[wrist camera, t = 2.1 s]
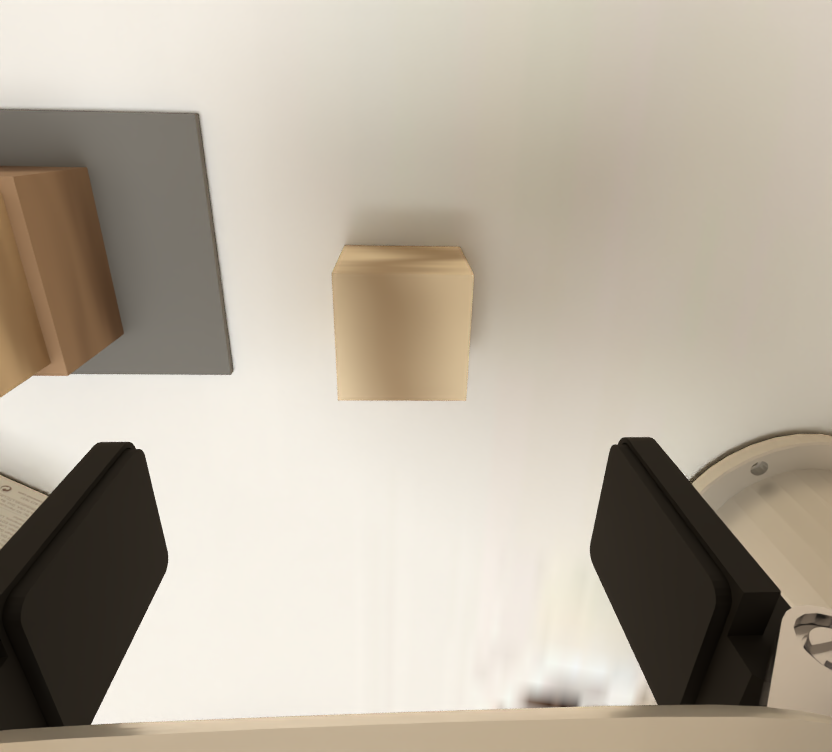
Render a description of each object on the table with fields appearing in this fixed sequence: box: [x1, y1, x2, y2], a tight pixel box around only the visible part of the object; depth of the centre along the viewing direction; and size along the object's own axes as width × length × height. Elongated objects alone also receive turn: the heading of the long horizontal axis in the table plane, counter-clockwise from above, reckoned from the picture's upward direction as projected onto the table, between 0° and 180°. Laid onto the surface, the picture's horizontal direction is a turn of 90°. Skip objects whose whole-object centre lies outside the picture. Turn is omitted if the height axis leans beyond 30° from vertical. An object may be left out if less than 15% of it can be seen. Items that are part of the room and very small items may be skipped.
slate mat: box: [0, 109, 233, 375], centre depth 23 cm, size 16×11×1 cm
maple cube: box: [332, 245, 474, 401], centre depth 22 cm, size 5×5×5 cm
